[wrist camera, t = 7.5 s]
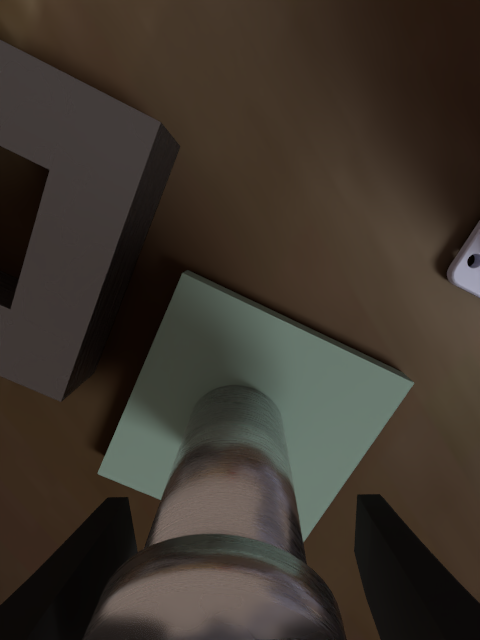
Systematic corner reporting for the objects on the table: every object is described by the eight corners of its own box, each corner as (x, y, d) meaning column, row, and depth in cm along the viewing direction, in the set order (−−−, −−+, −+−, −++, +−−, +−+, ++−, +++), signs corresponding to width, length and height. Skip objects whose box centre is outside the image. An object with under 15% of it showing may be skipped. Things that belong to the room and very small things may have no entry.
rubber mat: (187, 270, 13) (182, 272, 12) (402, 372, 13) (414, 383, 12) (107, 458, 15) (97, 473, 14) (292, 535, 16) (294, 554, 15)
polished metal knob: (168, 378, 13) (38, 597, 5) (292, 368, 12) (358, 588, 5) (186, 480, 14) (104, 782, 6) (298, 474, 14) (358, 783, 6)
